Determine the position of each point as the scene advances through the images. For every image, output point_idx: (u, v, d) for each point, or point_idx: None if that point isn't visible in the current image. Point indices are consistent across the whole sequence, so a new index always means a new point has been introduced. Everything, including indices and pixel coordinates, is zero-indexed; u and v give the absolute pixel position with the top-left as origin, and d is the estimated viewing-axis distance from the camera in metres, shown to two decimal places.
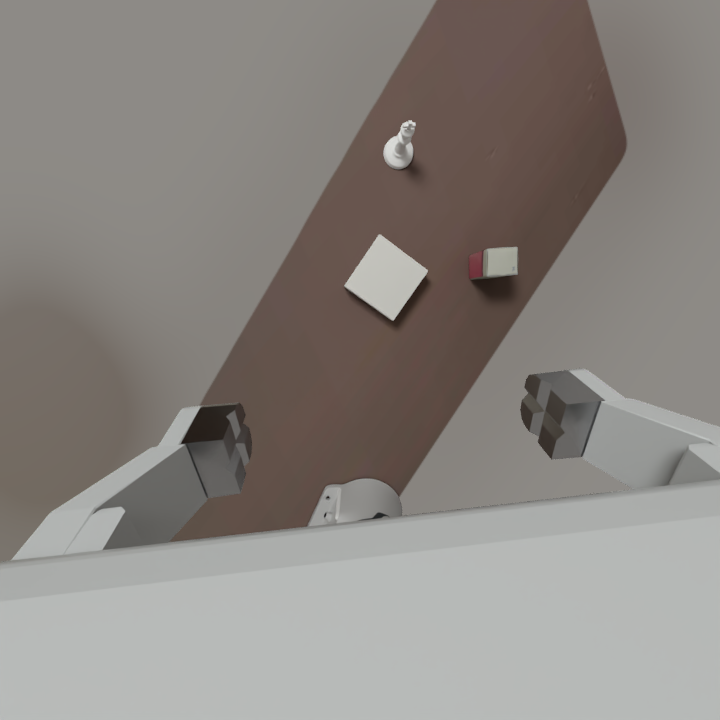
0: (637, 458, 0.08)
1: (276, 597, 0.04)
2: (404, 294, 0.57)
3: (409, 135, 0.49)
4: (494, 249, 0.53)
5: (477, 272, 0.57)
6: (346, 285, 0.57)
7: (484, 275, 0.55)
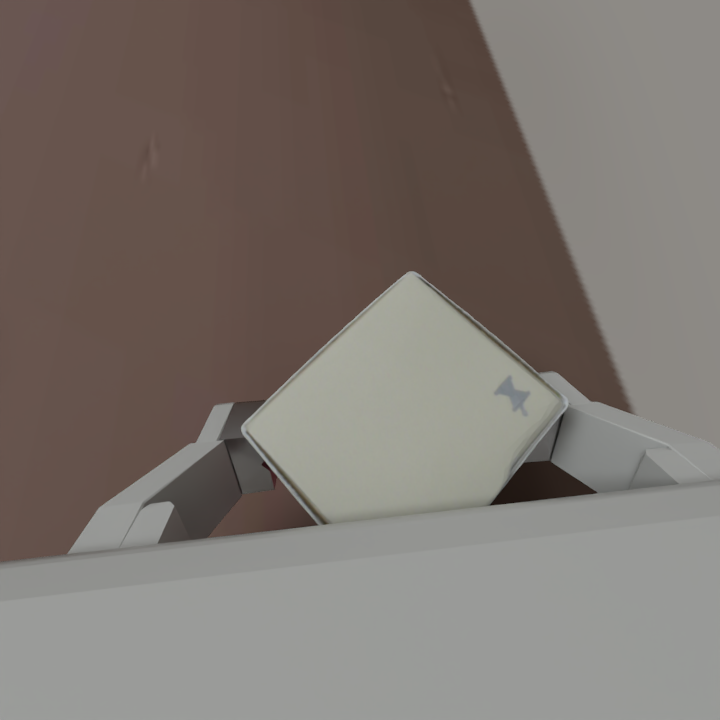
0: (601, 462, 0.08)
1: (276, 597, 0.04)
2: None
3: None
4: (289, 391, 0.07)
5: None
6: None
7: None
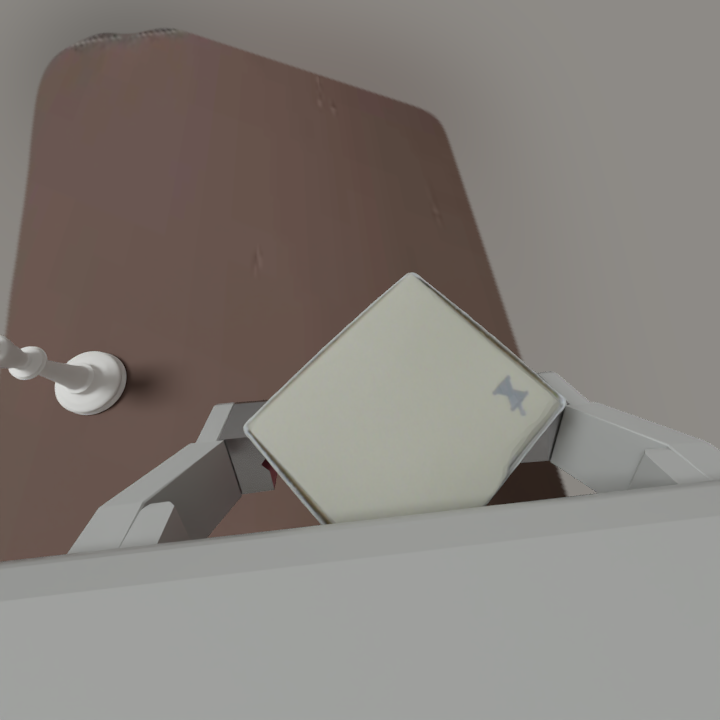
0: (600, 462, 0.08)
1: (276, 597, 0.04)
2: None
3: None
4: (290, 391, 0.07)
5: None
6: None
7: None
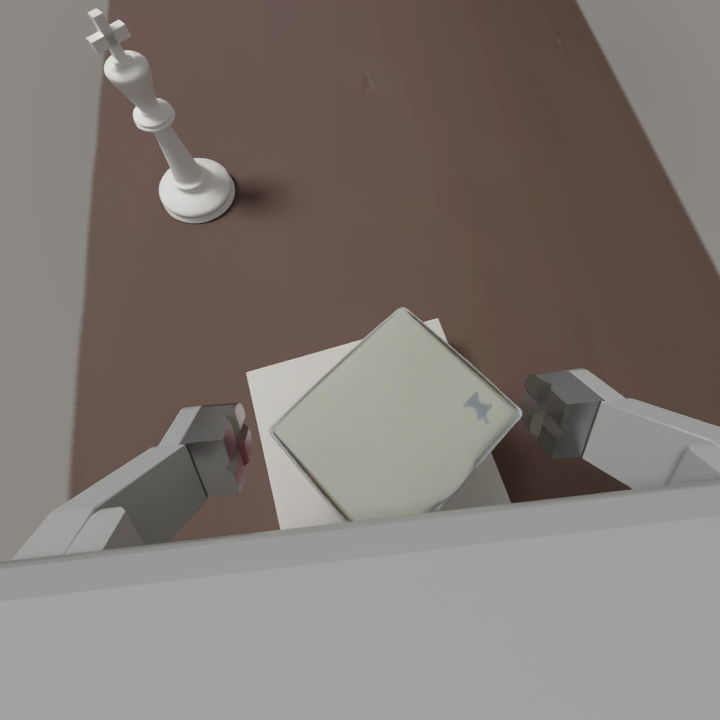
0: (637, 458, 0.08)
1: (276, 597, 0.04)
2: None
3: (138, 71, 0.16)
4: (305, 402, 0.09)
5: None
6: None
7: None
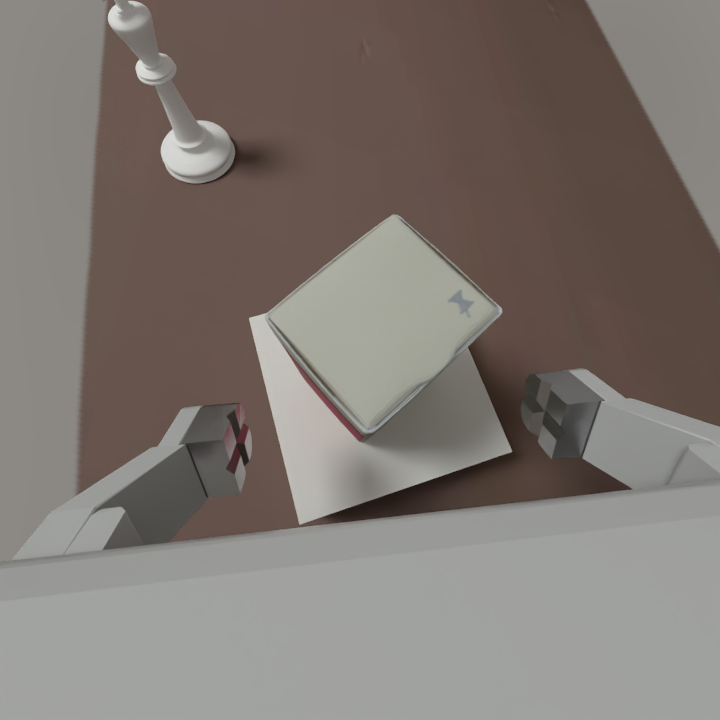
0: (637, 458, 0.08)
1: (276, 597, 0.04)
2: (452, 365, 0.17)
3: (141, 19, 0.17)
4: (300, 293, 0.09)
5: (345, 422, 0.12)
6: (304, 516, 0.15)
7: (361, 432, 0.09)
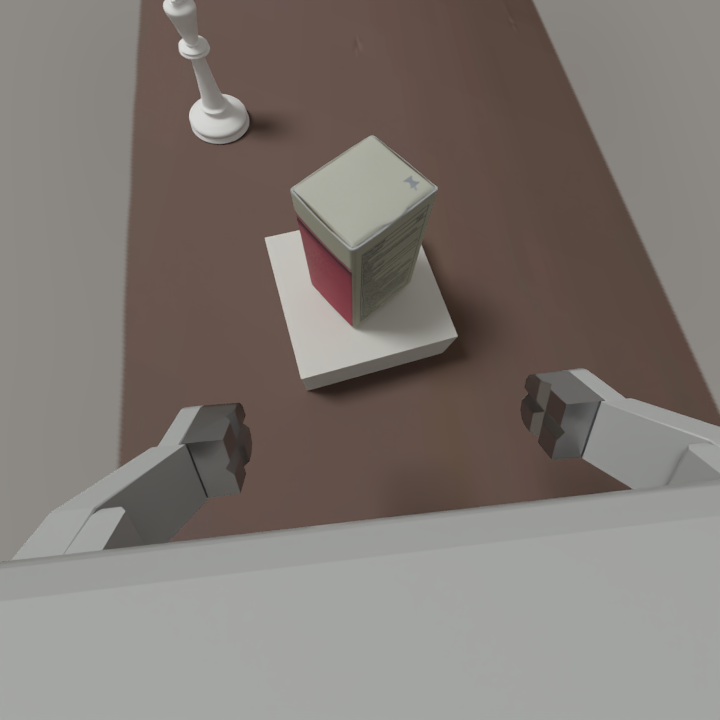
0: (637, 458, 0.08)
1: (276, 597, 0.04)
2: (417, 276, 0.23)
3: (189, 8, 0.22)
4: (312, 177, 0.15)
5: (340, 286, 0.17)
6: (304, 374, 0.20)
7: (349, 262, 0.15)
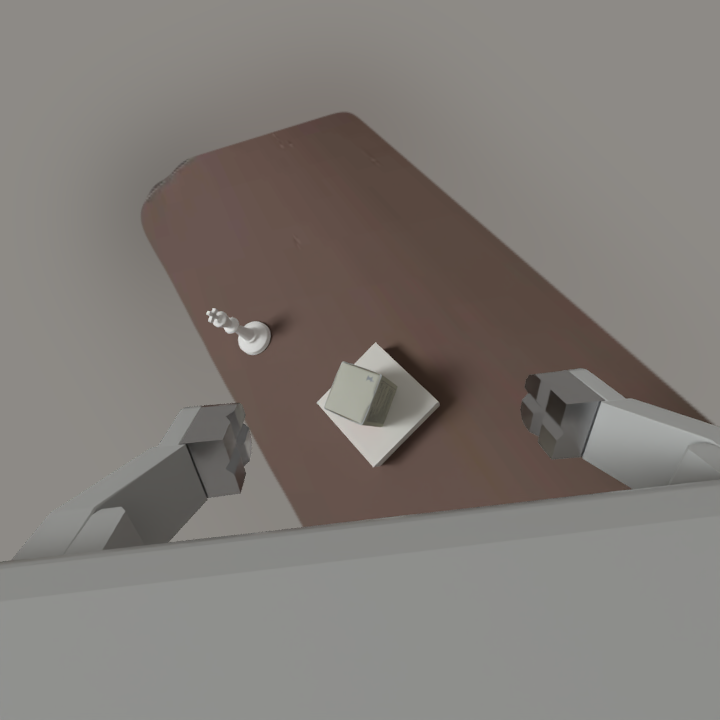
0: (637, 458, 0.08)
1: (276, 597, 0.04)
2: (400, 379, 0.39)
3: (224, 318, 0.42)
4: (329, 397, 0.32)
5: None
6: (373, 463, 0.37)
7: None
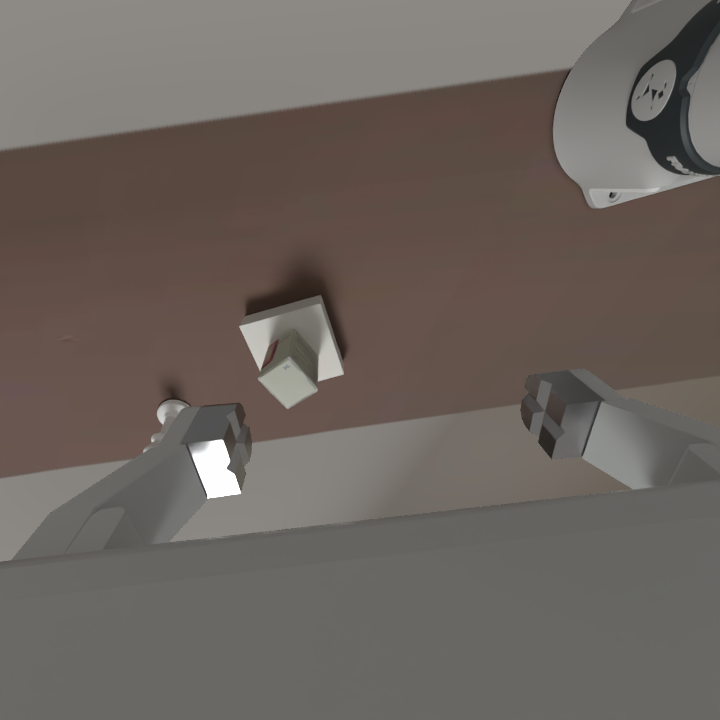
0: (637, 458, 0.08)
1: (276, 597, 0.04)
2: (285, 322, 0.41)
3: None
4: (281, 401, 0.37)
5: None
6: (341, 372, 0.45)
7: None
